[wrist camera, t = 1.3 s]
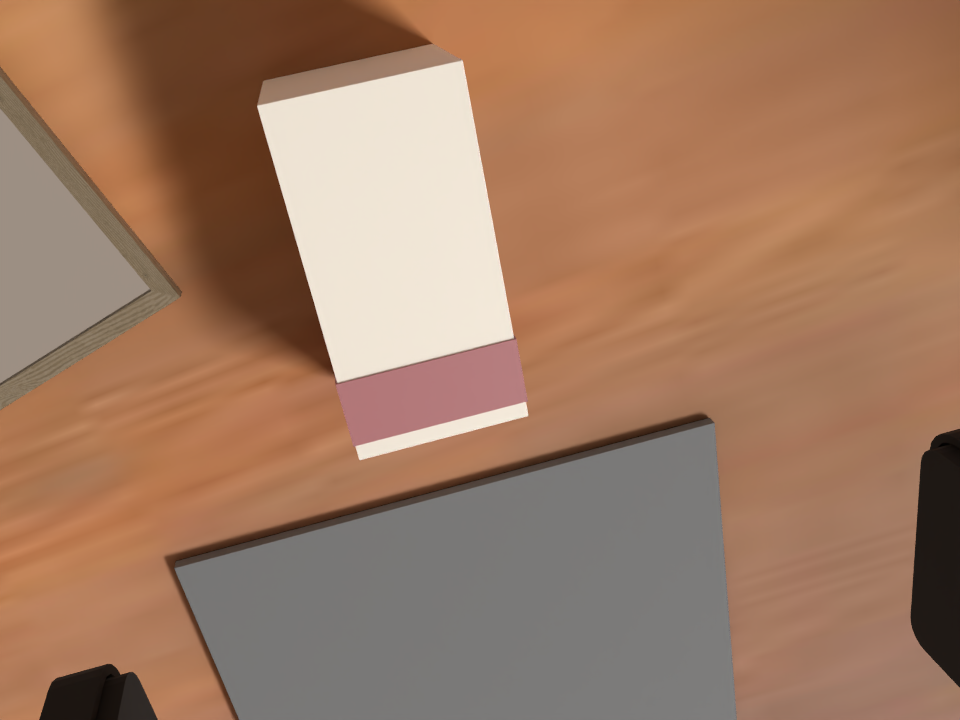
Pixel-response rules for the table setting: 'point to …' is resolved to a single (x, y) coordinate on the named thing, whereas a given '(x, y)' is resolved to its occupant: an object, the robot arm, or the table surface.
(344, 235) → the card box
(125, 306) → the picture frame
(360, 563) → the mat
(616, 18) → the table surface
